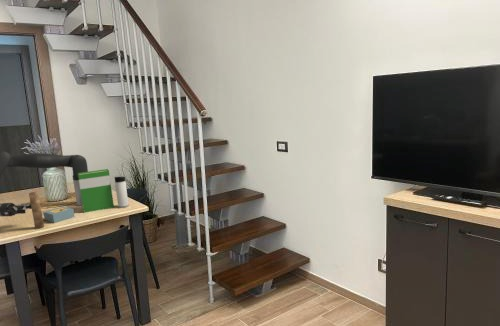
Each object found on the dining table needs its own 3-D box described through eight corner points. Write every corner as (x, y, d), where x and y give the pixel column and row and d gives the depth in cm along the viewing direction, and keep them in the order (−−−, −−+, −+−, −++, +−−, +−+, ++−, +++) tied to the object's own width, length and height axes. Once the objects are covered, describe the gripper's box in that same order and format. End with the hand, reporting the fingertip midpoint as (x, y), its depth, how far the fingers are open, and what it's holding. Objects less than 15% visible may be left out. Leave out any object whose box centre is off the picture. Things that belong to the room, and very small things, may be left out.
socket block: (64, 214, 230) (63, 206, 229) (74, 216, 223) (73, 208, 222) (44, 219, 221) (43, 211, 220) (54, 223, 213) (52, 214, 213)
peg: (41, 225, 210) (35, 191, 207) (45, 226, 208) (39, 192, 204) (33, 228, 207) (27, 193, 203) (37, 229, 204) (31, 194, 201)
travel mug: (115, 208, 236) (111, 177, 232) (122, 204, 242) (118, 174, 238) (123, 208, 234) (119, 177, 230) (130, 205, 240) (126, 175, 236)
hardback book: (84, 212, 230) (78, 175, 226) (83, 209, 237) (77, 173, 232) (113, 207, 238) (108, 170, 233) (112, 204, 244) (107, 168, 240)
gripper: (-8, 207, 201) (19, 206, 198) (12, 199, 214) (38, 198, 212) (-5, 220, 202) (22, 219, 200) (14, 212, 216) (40, 211, 214)
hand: (30, 208), depth 206 cm, fingers open, 8 cm apart
